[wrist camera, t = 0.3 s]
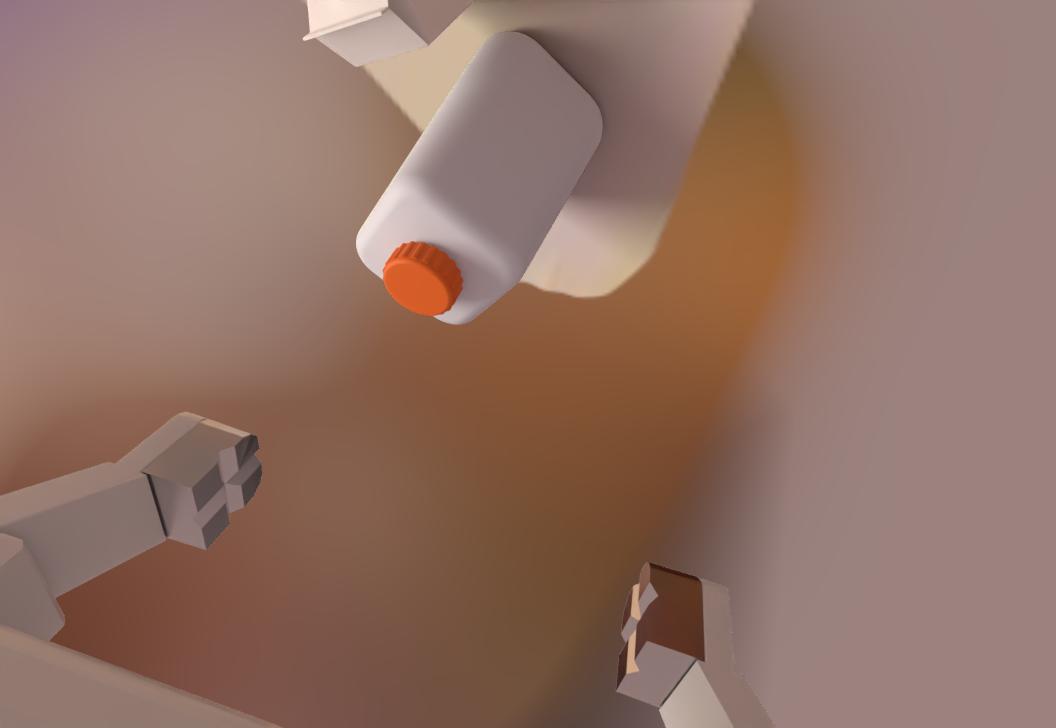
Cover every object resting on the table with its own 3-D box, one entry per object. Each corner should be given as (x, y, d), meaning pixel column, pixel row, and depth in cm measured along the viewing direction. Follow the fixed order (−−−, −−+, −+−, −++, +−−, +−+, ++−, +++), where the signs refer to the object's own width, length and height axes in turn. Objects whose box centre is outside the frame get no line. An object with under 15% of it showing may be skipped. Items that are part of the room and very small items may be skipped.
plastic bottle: (434, 116, 62) (300, 276, 45) (509, 5, 51) (369, 161, 34) (534, 204, 67) (448, 378, 50) (622, 120, 56) (549, 306, 39)
